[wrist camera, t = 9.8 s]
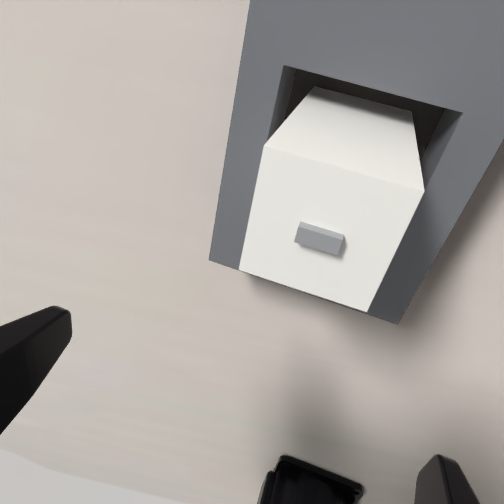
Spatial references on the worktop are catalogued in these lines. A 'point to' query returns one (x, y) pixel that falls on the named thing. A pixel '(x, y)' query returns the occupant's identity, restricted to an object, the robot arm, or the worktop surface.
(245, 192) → the grey board with hole
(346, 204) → the plug block
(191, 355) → the worktop surface
